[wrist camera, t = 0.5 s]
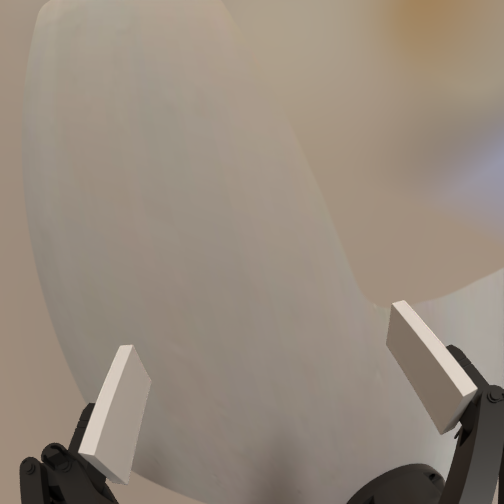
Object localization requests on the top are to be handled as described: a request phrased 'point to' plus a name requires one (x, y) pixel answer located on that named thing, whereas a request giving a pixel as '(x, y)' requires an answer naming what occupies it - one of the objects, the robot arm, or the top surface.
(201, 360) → the top surface
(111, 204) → the top surface
